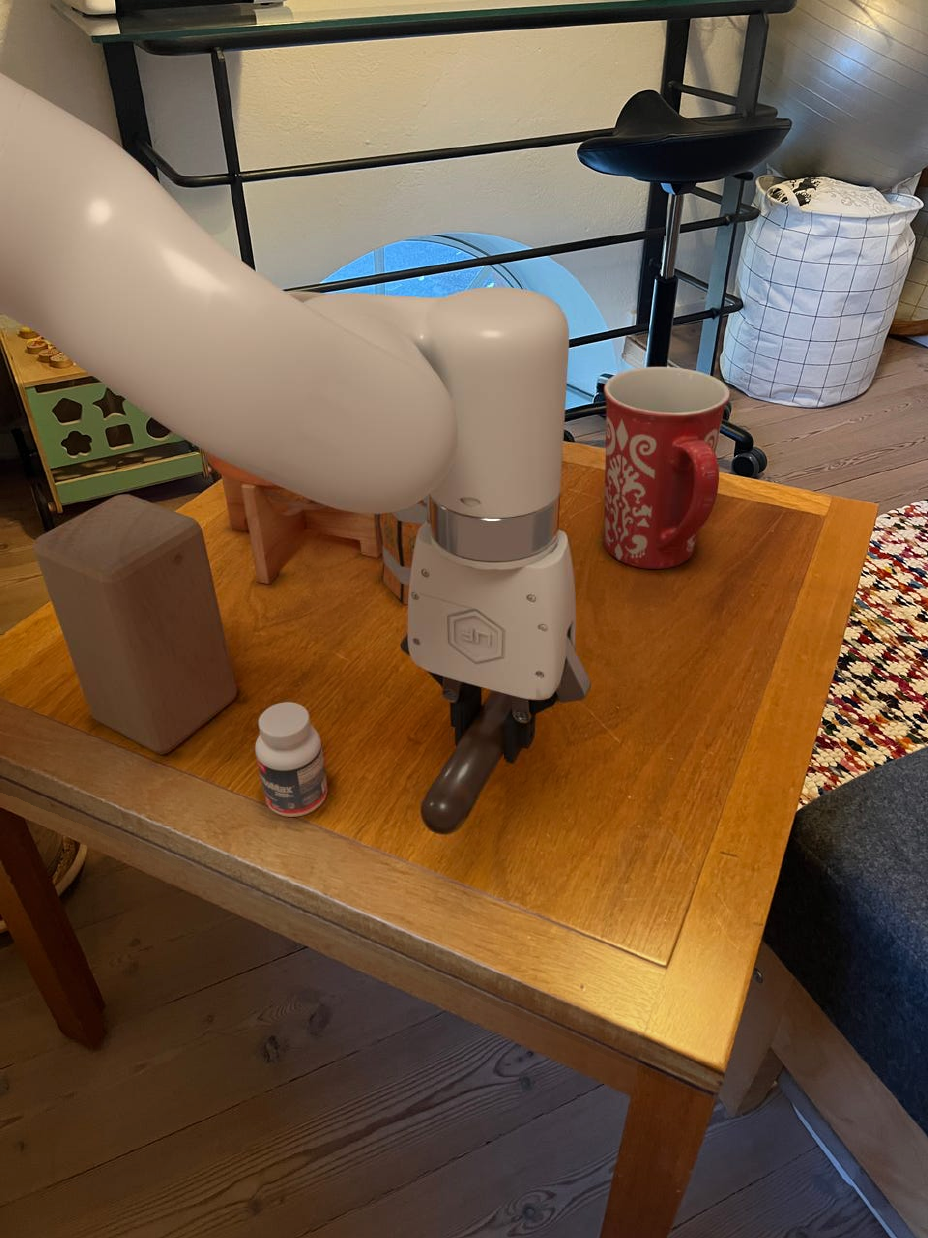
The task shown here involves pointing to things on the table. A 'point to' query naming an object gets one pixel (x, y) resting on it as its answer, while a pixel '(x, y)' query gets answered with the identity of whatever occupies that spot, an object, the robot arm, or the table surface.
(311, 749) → the pill bottle
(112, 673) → the wooden block
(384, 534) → the mug
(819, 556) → the table surface
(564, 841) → the table surface
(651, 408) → the mug
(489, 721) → the spoon
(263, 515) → the planter
